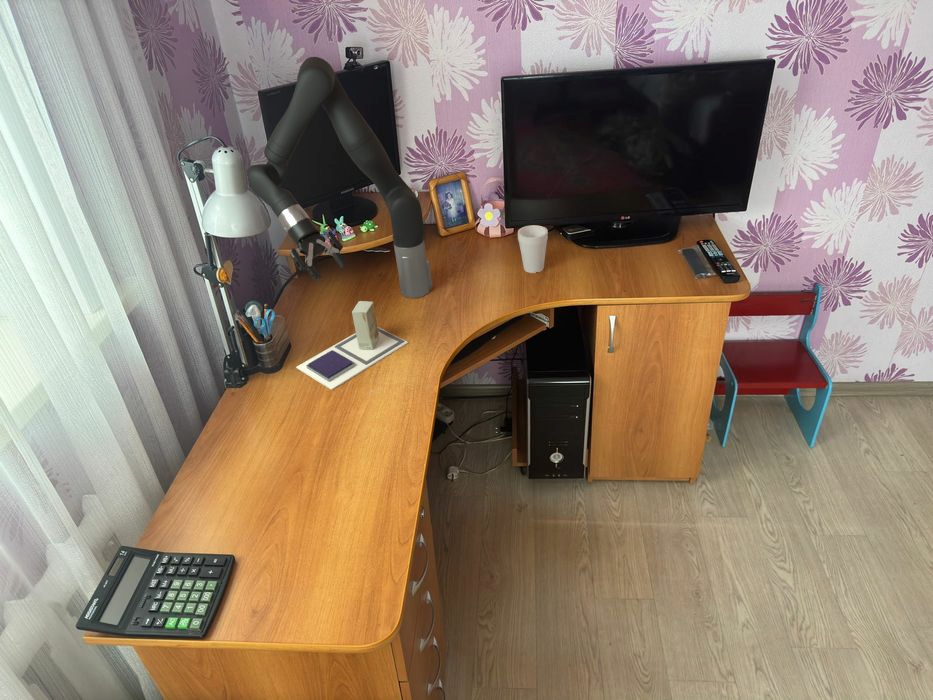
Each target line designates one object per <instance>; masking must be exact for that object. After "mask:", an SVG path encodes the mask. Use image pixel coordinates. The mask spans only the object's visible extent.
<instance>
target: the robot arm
mask: <svg viewBox="0 0 933 700" xmlns="http://www.w3.org/2000/svg"><path fill="white" fill-rule="evenodd" d="M320 107H322V108H323V109H324V110H325V112H326V113H327V114H326V115H328V118H329V119H330V121H331V124H332V127H333V129H334V132H335V134H336V135H337V137H338V139H339V140H338V141H339V142H340V144H341V145H342V147H343V149H344V151H345V152H346V153H347V155H348V156H349V157H350V159H351V161H352V162H353V163H354V164H355V166H356V167H358V168H359V170H360V171H361V172H362V173H363V175H365V176H367V178H368V179H369V180H371V182H372V183H373V184H374V186H375V187H376V189H377V190H378V192H379V194H380V195H381V198H382V199H383V201H384V202H385V205H386V208H387V209H388V213H389V216H390V222H391V227H392V228H391V229H392V242H393V248H394V255H395V261H396V262H395V263H396V267H397V274H398V279H399V280H398V281H399V286H400V292H401V295H402V296H403V297H406V298H409V299H416V298H421V297H425V296H426V295H428V294H429V293H430V292H431V289H433V280H432V274H431V273H432V272H431V265H430V260H428V259H427V253H426V246H425V238H424V234H425V230H424V229H425V228H424V219H423V211H422V210H423V209H422V205H421V202H420V200H419V198H418V197H417V195H416V193H415V192H414V191H413V189H412V188H410V186H409V185H408V184H407V183H406V182H405V181H404V179H403V178H402V176H400V175H399V173H398V172H397V171H396V169H395V167H394V165H393V164H392V162H391V159H390V157H389V155H388V153H387V151H386V149H385V148H384V146H383V144H382V143H381V141H380V140H379V138H378V137H377V135H376V134H375V132H374V130H373V129H372V128H371V126H370V125H369V123H368V122H367V121H366V119H365V118H364V117H363V115H362V114H361V113H360V111H359V110H358V109H357V107H356V106H355V105H354V103H353V102H352V100H351V99H350V98H349V96H348V93H346V91H345V89H344V87H343V86H342V83H341V82H340V79H339V78H338V76H337V74H336V72H335V70H334V69H333V66H331V64H330V63H329V62H328V61H326V60H325V59H324V58H321V57H318V56H310V57H307V58H306V59H305V60H303V62H302V63H301V65H300V66H299V70H298V72H297V78H296V85H295V88H294V92H293V94H292V98H291V100H290V102H289V104H288V107H287V108H286V110H285V112H284V114H283V115H282V117H281V118H280V120H279V122H277V124H276V126H275V128H274V129H273V132H272V133H271V135H270V137H269V139H268V141H267V143H266V145H265V147H264V150H263V155H264V157H265V158H266V160H267V162H266V163H262V164H261V163H260V164H253V165H250V166H249V167H248V168H247V169H246V172H247V176H248V181H249V185H248V187H249V186H250V187H249V189H251V191H252V192H253V193H254V194H255V195H256V196H257V197H259V199H260V200H262V201H263V202H264V203H266V205H268V206H269V208H270V209H271V211H273V213H274V215H275V216H276V218H277V219H278V220H279V222H280V224H281V226H282V228H283V229H284V231H285V232H286V233H287V235H288V236H289V238H290V239H291V240H292V242H293V244H295V246H296V247H297V248H292V249H291V250H290V252H289V256H290V258H291V259H292V261H293V262H294V264H295V266H296V268H298V270H299V271H300V272H302V271H308V273H309V274H310V276H311V277H312V279H314V280H315V281H319V280H320V279H321V277H322V275H321V274H320V273H319V271H318V270H317V269H316V267H315V265H313V259H315V258H316V257H318V256H322V255H323V254H325V255H329V256H332V257H333V259H334V260H335V262H336V263H337V265H338V266H339V268H340V269H342V268H344V267H345V266H346V260H345V258H344V257H343V256H342V254H341V252H342V249H343V248H344V247H343V244H341V241H339V240H338V238H337V237H336V236H335V234H334V233H333V232H332V231H328V232H327V233H326V234H325V235H322V234H321V233H320V231H319V228H317V226H316V225H315V223H314V222H313V220H312V219H311V218H310V216H309V215H308V213H307V212H306V211H305V209H303V207H302V206H301V205H300V204H299V202H298V200H297V199H296V198H295V196H294V195H293V194H292V192H290V190H287V189H284V188H281V187H280V186H281V185H282V184H283V182H284V180H285V179H286V174H287V169H288V167H289V160H290V159H291V158H292V156H293V153H294V151H295V150H296V148H297V147H298V144H299V142H300V140H301V138H302V136H303V134H304V131H305V129H306V128H307V127H308V124H309V123H310V121H311V119H312V118H313V116H314V114H316V112H317V110H319V108H320ZM326 242H327V243H326ZM301 254H302V255H303V256H305V257H304V259H305V260H303V259H302V257H301V256H300V255H301Z"/></svg>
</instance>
